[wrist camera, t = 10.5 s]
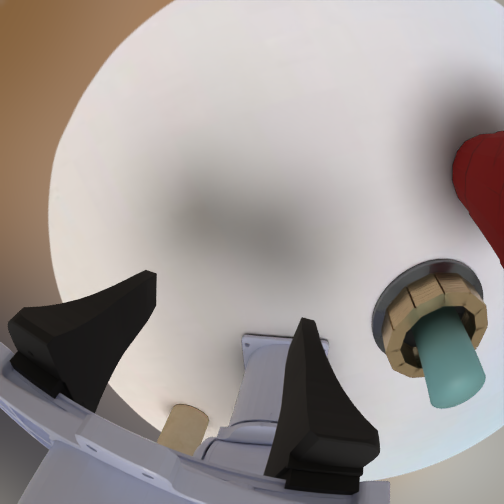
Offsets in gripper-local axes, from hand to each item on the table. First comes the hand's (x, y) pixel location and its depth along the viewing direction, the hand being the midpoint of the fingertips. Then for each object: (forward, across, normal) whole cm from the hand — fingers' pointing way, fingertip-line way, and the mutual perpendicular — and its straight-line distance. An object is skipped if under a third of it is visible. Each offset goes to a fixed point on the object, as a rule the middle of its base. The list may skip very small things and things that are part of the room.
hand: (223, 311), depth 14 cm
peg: (+9, -16, +3) cm, 19 cm away
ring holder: (+9, -16, +3) cm, 19 cm away
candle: (+10, +3, +30) cm, 32 cm away
